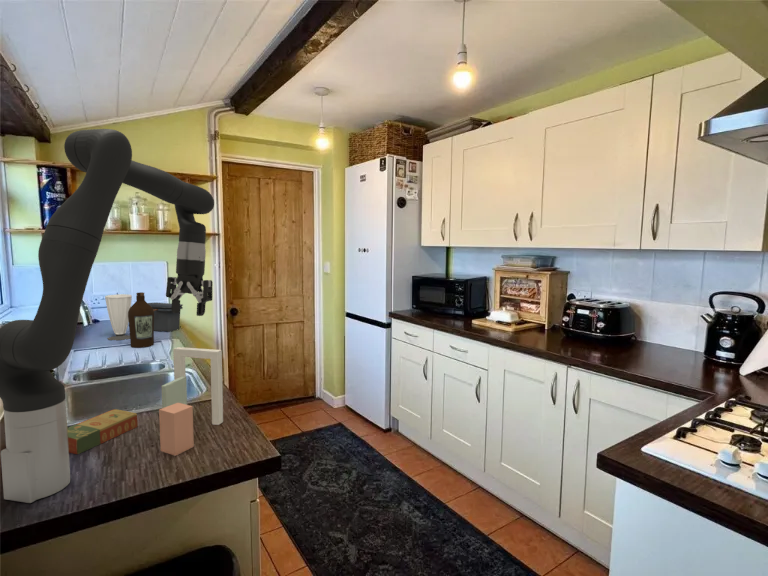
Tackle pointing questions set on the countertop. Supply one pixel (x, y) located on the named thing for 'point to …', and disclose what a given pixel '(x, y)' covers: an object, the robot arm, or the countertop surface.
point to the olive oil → (141, 323)
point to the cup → (118, 314)
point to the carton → (100, 429)
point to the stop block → (176, 428)
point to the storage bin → (165, 317)
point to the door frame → (215, 375)
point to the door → (174, 392)
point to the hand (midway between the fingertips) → (187, 314)
